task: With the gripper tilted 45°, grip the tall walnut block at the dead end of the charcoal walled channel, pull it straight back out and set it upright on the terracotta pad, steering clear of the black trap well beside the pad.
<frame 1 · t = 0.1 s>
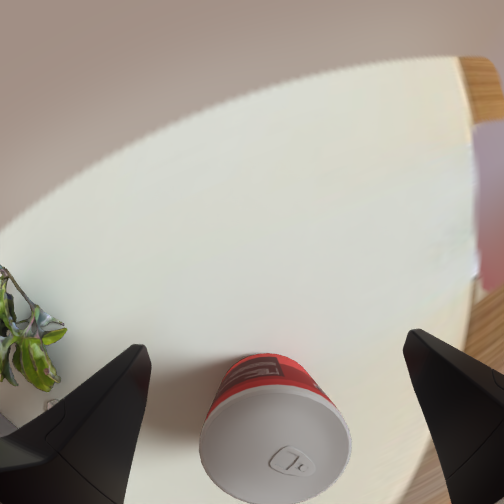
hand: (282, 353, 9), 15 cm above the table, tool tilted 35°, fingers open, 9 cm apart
canned food: (267, 394, 23), on the table
passion flower: (40, 327, 24), on the table
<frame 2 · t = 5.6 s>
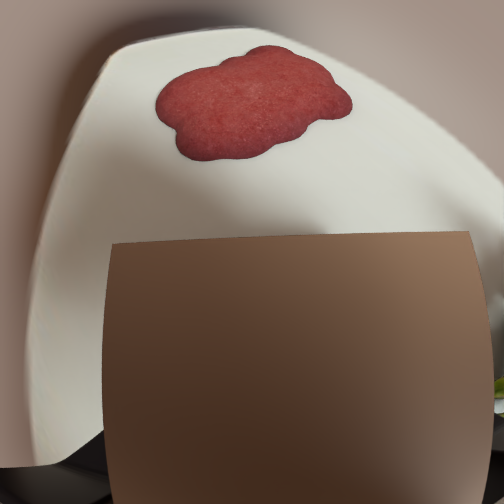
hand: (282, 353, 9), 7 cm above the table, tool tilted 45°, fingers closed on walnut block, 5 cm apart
walnut block: (281, 396, 8), in the channel, touching gripper
patty: (253, 98, 24), on the table
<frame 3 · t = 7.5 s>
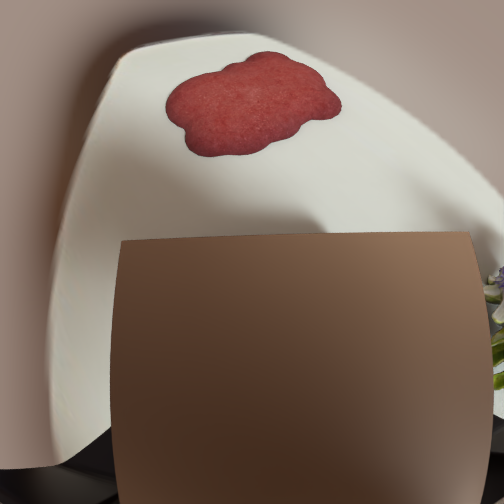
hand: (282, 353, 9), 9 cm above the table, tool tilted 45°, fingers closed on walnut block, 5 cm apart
walnut block: (283, 394, 9), point 9 cm above the table, touching gripper
passion flower: (501, 326, 18), on the table
patty: (253, 100, 27), on the table
when the fingers open (7 cm above the table, at t = 9.6 s): walnut block stays where it is, resting on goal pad.
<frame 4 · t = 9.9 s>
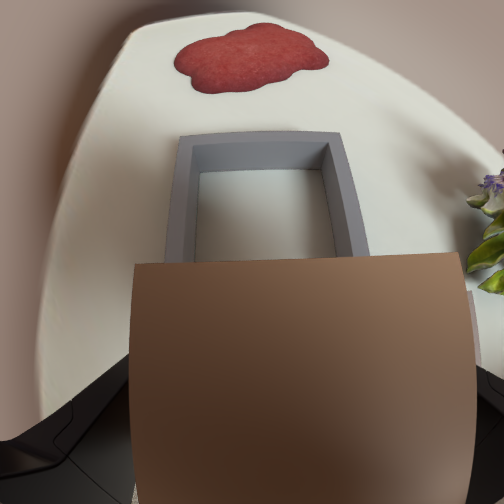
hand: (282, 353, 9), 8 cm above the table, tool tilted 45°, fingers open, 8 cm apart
channel: (264, 230, 19), on the table
trap well: (424, 361, 15), on the table
walnut block: (282, 396, 9), on the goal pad
passion flower: (497, 245, 19), on the table
patty: (251, 58, 28), on the table
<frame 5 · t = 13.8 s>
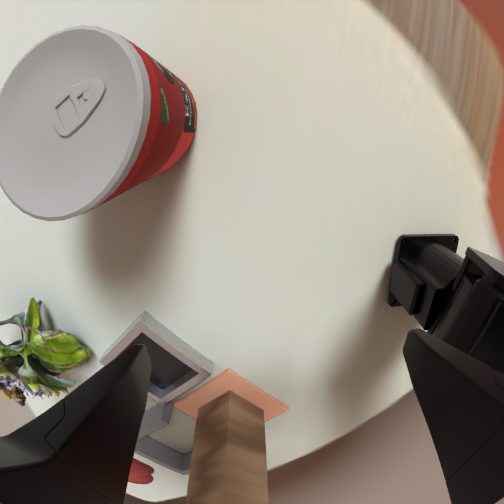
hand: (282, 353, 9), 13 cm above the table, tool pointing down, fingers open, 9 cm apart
channel: (179, 433, 31), on the table
canned food: (145, 123, 18), on the table
trap well: (155, 358, 26), on the table
walnut block: (228, 459, 22), on the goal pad
passion flower: (45, 327, 25), on the table
patty: (109, 459, 38), on the table
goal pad: (230, 407, 29), on the table
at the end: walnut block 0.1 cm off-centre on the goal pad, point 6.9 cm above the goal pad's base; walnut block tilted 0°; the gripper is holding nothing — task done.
